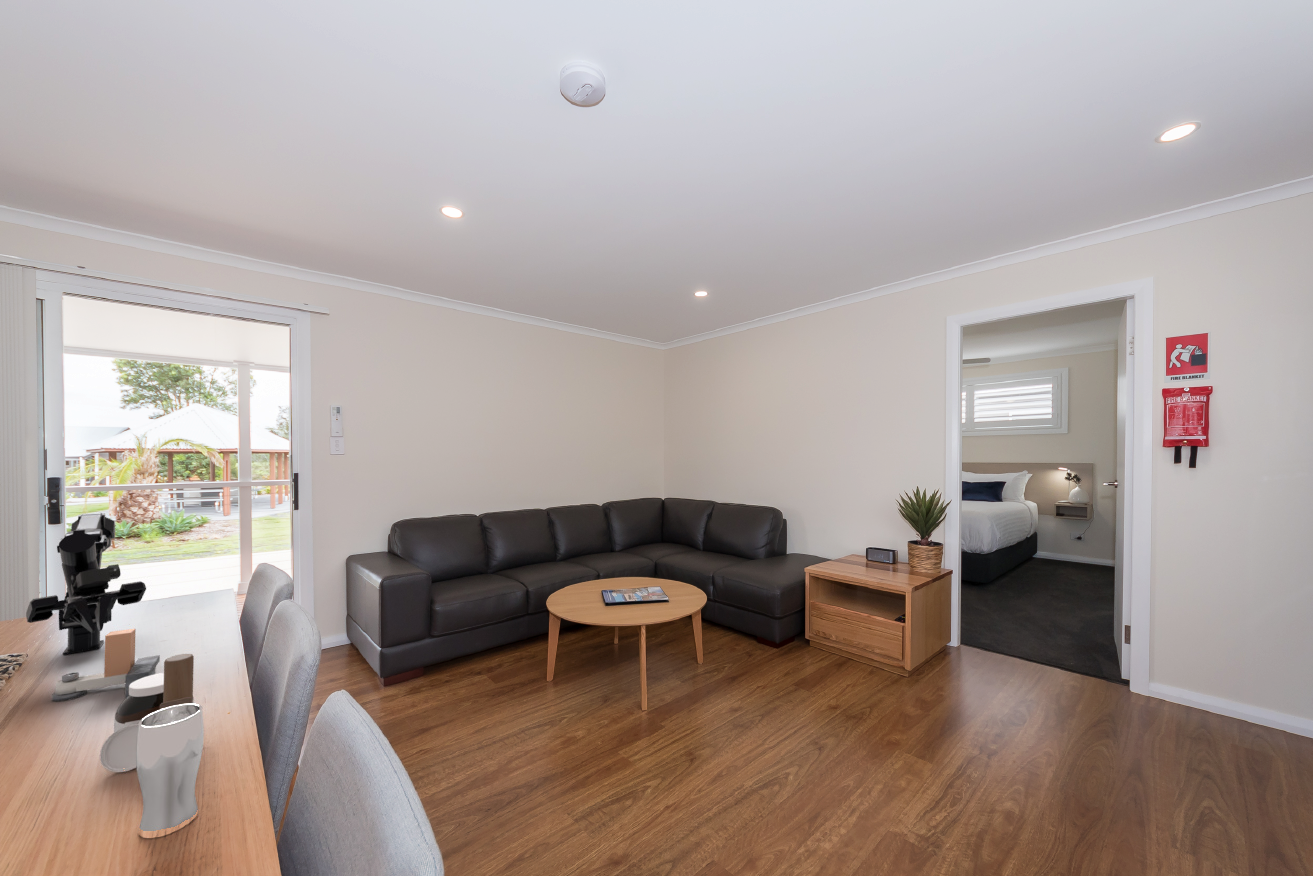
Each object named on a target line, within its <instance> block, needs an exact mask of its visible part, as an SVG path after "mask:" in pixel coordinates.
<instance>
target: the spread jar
mask: <svg viewBox="0 0 1313 876" xmlns="http://www.w3.org/2000/svg"><path fill="white" fill-rule="evenodd" d="M163 692H164V672H159V673H156V674H154V675H150V676H147V677H144V678H141V679H138V680H136V681H134V682H132V683H131V684H130V685H129V696H128V697H127V698H126V699H125V698H124V700H123V701H122V702H121V703H120V705H119V706H118V707H117V709H116V711H115V714H114V719H113V720H114V722H113V733H111V734H110V735H109V736H108V737H107V738H106V740H105V741H104V743H103V744H102V746H101V749H100V753H99V761H100V763H101V766H102V767H103V768H104V769H106V770H107V771H110V772H113V773H123V772H128V771H131V770H134V769H137V768H136V744H137V736H138V729H139V722H140V720H141V719H143V718H144V717H145V716H147V715H149V714H151V713H153V712H156V711H158V710H160V704H161V703H163ZM193 704H195V698H194V697H193ZM123 768H125V769H123ZM124 770H125V771H124Z"/></svg>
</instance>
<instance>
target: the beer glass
mask: <svg viewBox="0 0 1313 876" xmlns="http://www.w3.org/2000/svg"><path fill="white" fill-rule="evenodd" d="M204 731H205V730H204V717H203V705H201V704H199V703H194V704H181V705H176V706H171V707H167V708H164V709H161V710H158V711H156V712H153V713H151V714H149V715H147V716H145V717H144V718H143V719H141V720H140V722H139V729H138V736H137V744H136V768H135V769H136V773H137V774H136V775H137V780H138V783H139V786H140V787H139V788H140V792H141V797H142V804H143V805H142V806H143V807H142V814H141V819H140V823H139V827H138V828H140V829H141V830H143V831H156V830H161V829H166V828H171V827H175V826H177V825H179V824H181V823H182V822H184V821H185V820H188V819H190V818H191V817H193V815H195V814H196V812H197V810H198V811H199V807H198V802H197V799H196V781H197V777H198V773H199V769H200V764H201V759H202V754H203V750H204V749H203V747H204V738H205V737H204V736H205V735H204V734H205V733H204Z"/></svg>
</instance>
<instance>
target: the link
mask: <svg viewBox="0 0 1313 876" xmlns="http://www.w3.org/2000/svg"><path fill="white" fill-rule="evenodd" d="M135 660H136V628H129V629H121V630H113V631H109V632H108V633H107V634H106V635H105V638H104V671H103V672H104V673H103V672H101V673H97V674H91V675H82V676H80V675H79V678H78V679H77V680H74V681H70V682H62V679H61V680H58V681H57V682H56V683H55V692H56V694H57V695H63V694H69V693H73V692H76V691H82V690H94V689H99V688H105V687H112V686H118V685H123V684H124V685H125V682H126V675H127V673H128V672H129V671H130V669H131V668H132V666H133V665H134V664H135V662H136V661H135ZM156 669H157V667H156V668H155V674H157V673H156V672H157V671H156Z"/></svg>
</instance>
